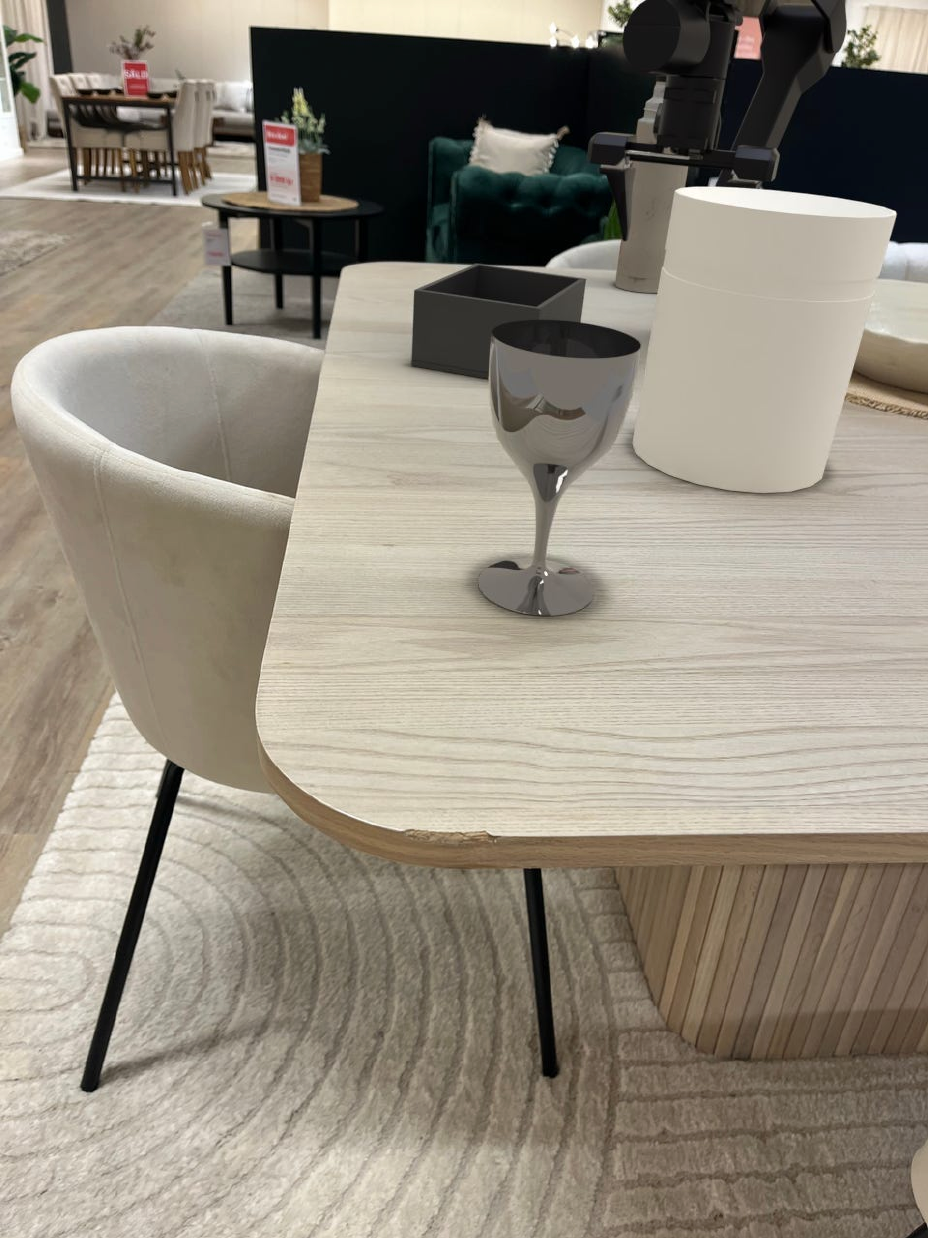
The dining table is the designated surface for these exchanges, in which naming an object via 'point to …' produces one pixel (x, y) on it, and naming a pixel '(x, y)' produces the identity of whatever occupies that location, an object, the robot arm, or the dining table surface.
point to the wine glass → (554, 438)
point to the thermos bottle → (649, 209)
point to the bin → (484, 313)
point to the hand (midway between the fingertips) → (667, 246)
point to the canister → (756, 334)
